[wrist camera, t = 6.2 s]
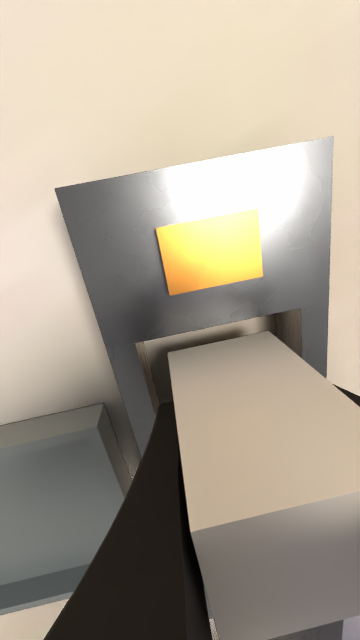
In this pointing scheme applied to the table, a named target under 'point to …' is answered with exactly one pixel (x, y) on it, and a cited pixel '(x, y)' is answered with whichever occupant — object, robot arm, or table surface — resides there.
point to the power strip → (207, 262)
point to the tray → (55, 502)
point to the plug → (269, 486)
